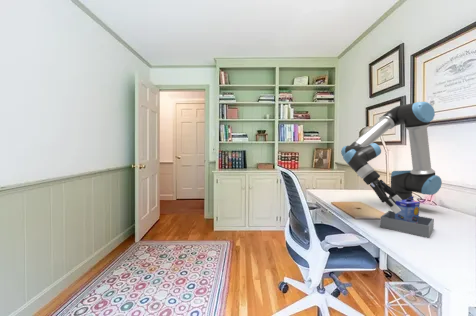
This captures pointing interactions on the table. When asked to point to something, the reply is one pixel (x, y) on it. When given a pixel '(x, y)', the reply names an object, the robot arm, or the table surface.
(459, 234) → the table surface
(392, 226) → the box
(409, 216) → the ink cartridge box
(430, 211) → the table surface
